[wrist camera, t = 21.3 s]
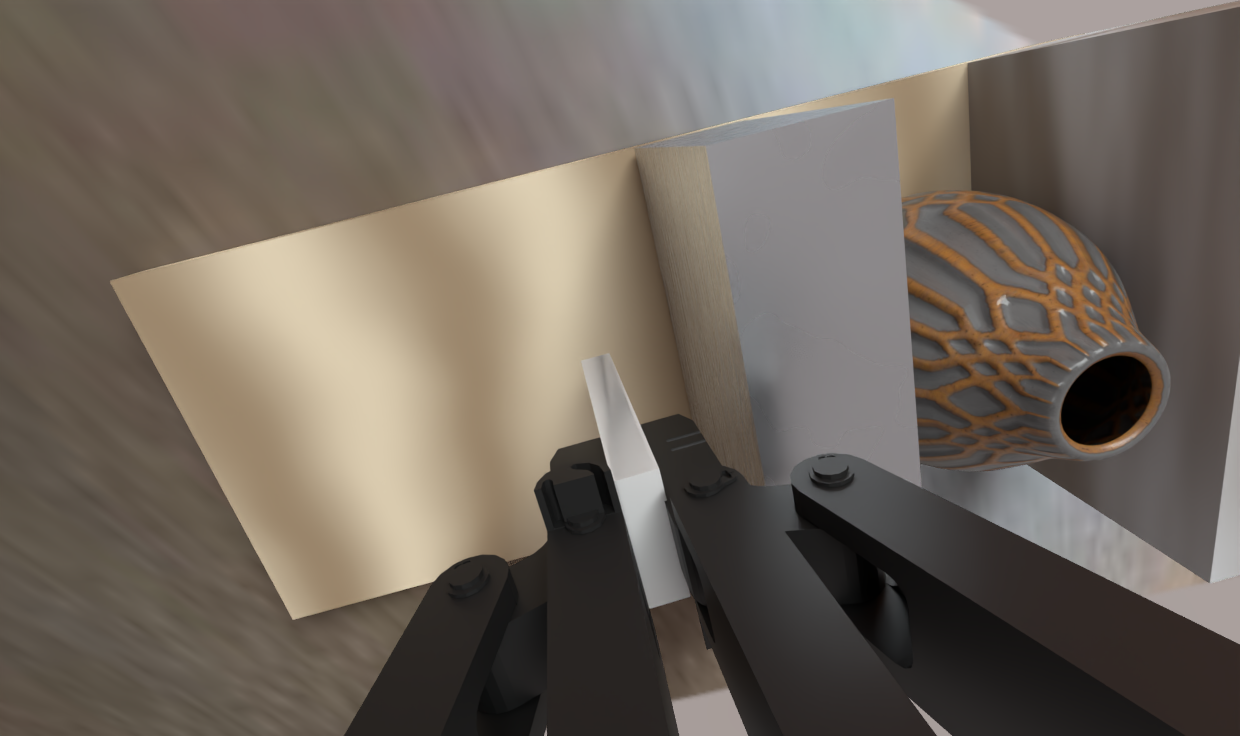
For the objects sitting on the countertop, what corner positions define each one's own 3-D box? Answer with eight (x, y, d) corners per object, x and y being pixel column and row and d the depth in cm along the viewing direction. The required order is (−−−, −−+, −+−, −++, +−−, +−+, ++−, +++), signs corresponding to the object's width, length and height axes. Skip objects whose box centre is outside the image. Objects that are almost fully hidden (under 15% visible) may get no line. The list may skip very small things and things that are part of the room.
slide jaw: (711, 511, 21) (804, 710, 14) (634, 148, 17) (705, 146, 9) (796, 488, 21) (934, 674, 14) (739, 121, 17) (894, 97, 9)
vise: (308, 590, 22) (152, 882, 13) (143, 271, 18) (-245, 387, 9) (1041, 392, 23) (1352, 543, 14) (1044, 41, 19) (1488, -55, 10)
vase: (737, 377, 20) (874, 536, 12) (809, 157, 18) (1037, 160, 10) (925, 416, 21) (1167, 585, 13) (1012, 215, 19) (1366, 263, 11)
